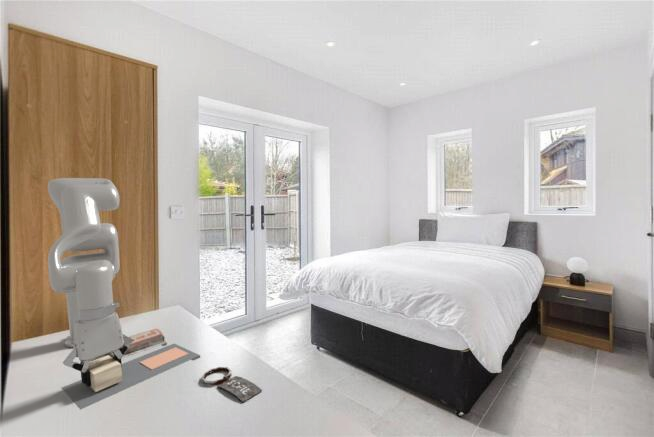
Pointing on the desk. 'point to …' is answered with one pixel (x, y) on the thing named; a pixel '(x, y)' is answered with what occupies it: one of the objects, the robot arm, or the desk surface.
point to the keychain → (232, 384)
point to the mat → (132, 374)
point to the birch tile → (104, 372)
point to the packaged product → (143, 342)
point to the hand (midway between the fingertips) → (102, 377)
